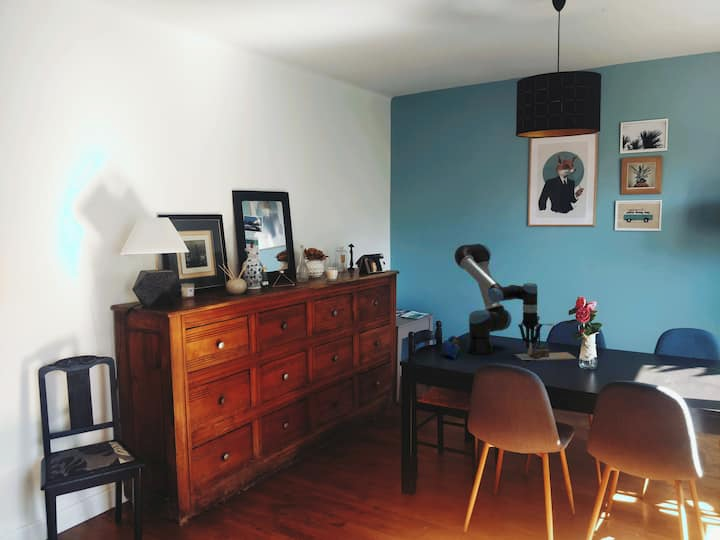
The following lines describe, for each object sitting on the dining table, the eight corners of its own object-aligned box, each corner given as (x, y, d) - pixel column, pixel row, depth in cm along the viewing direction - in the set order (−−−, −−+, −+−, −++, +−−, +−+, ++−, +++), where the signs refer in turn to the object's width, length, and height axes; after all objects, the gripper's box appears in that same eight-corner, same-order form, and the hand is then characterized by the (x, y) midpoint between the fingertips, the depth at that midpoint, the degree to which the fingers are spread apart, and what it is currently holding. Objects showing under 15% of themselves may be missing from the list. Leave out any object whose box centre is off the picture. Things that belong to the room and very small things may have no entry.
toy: (459, 353, 323) (461, 359, 308) (442, 354, 325) (443, 360, 310) (458, 334, 323) (460, 340, 308) (441, 335, 324) (442, 341, 309)
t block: (534, 359, 305) (534, 352, 305) (527, 354, 315) (527, 348, 315) (551, 358, 306) (551, 352, 305) (544, 353, 316) (544, 347, 315)
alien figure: (556, 348, 329) (557, 315, 327) (555, 350, 325) (555, 317, 323) (521, 344, 339) (521, 313, 337) (519, 347, 334) (520, 314, 332)
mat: (522, 361, 304) (522, 360, 304) (514, 355, 316) (514, 354, 316) (576, 358, 306) (576, 357, 305) (567, 353, 317) (567, 352, 317)
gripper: (520, 313, 303) (520, 356, 306) (544, 312, 304) (544, 355, 306) (516, 310, 311) (516, 352, 313) (539, 310, 311) (539, 352, 314)
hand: (529, 354), depth 310 cm, fingers closed
